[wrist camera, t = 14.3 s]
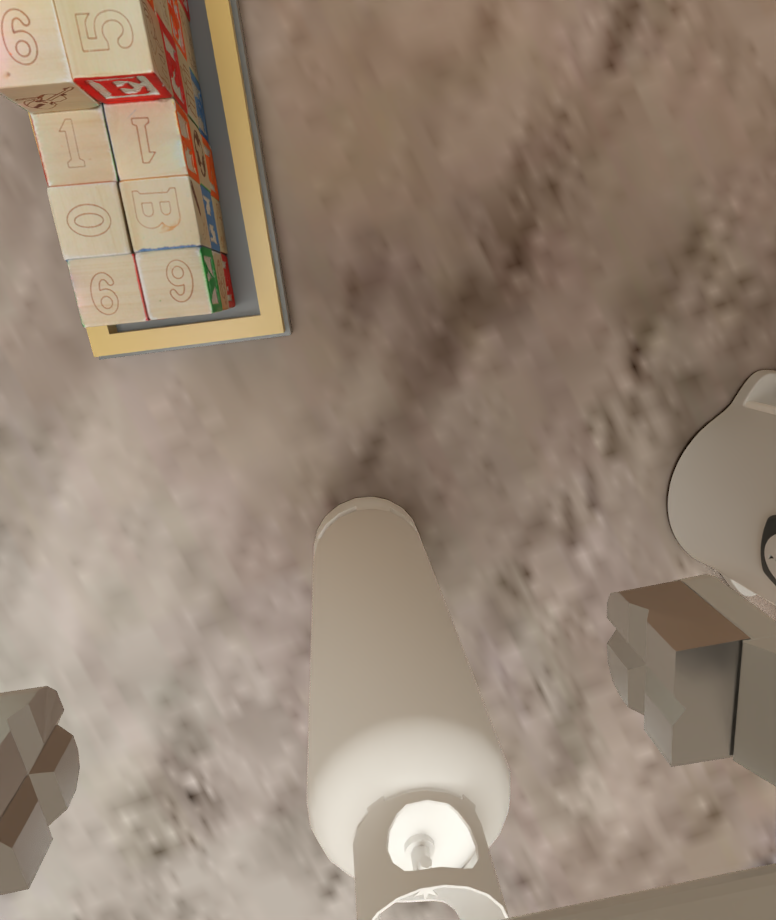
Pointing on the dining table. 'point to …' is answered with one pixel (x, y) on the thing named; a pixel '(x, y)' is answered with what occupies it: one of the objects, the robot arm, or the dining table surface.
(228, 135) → the yellow and grey tray
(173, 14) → the stack of blocks
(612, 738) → the dining table surface
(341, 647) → the bottle
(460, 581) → the dining table surface
